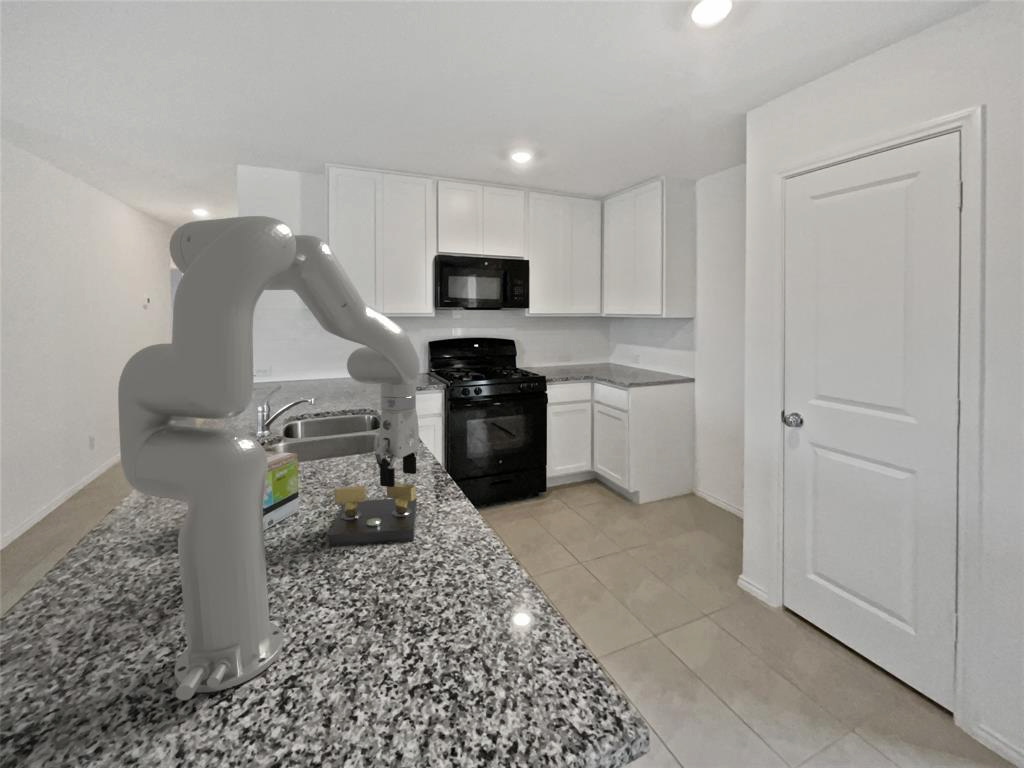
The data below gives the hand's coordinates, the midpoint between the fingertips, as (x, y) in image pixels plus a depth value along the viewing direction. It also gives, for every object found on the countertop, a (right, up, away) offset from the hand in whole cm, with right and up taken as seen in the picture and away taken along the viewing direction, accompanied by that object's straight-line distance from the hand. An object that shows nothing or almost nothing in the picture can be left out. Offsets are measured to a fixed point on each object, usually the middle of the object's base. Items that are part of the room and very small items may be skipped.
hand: (399, 479), depth 103 cm
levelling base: (-5, -11, +1) cm, 12 cm away
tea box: (-32, -11, +3) cm, 34 cm away
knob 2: (0, -7, +2) cm, 8 cm away
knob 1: (-11, -8, 0) cm, 13 cm away
